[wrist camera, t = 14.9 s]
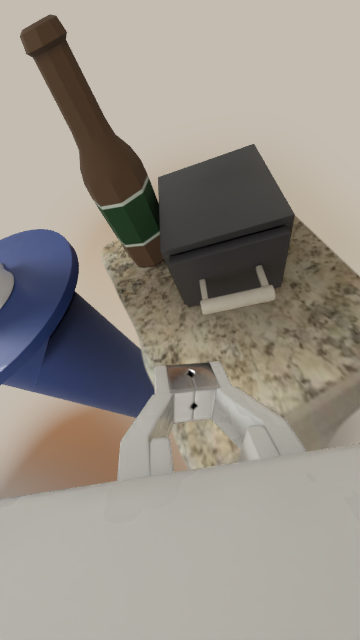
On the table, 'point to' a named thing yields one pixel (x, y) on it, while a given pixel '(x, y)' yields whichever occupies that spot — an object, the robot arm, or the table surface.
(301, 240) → the table surface
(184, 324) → the table surface
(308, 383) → the table surface
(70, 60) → the beer bottle
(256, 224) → the cabinet
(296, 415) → the table surface
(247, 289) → the drawer
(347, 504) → the robot arm
